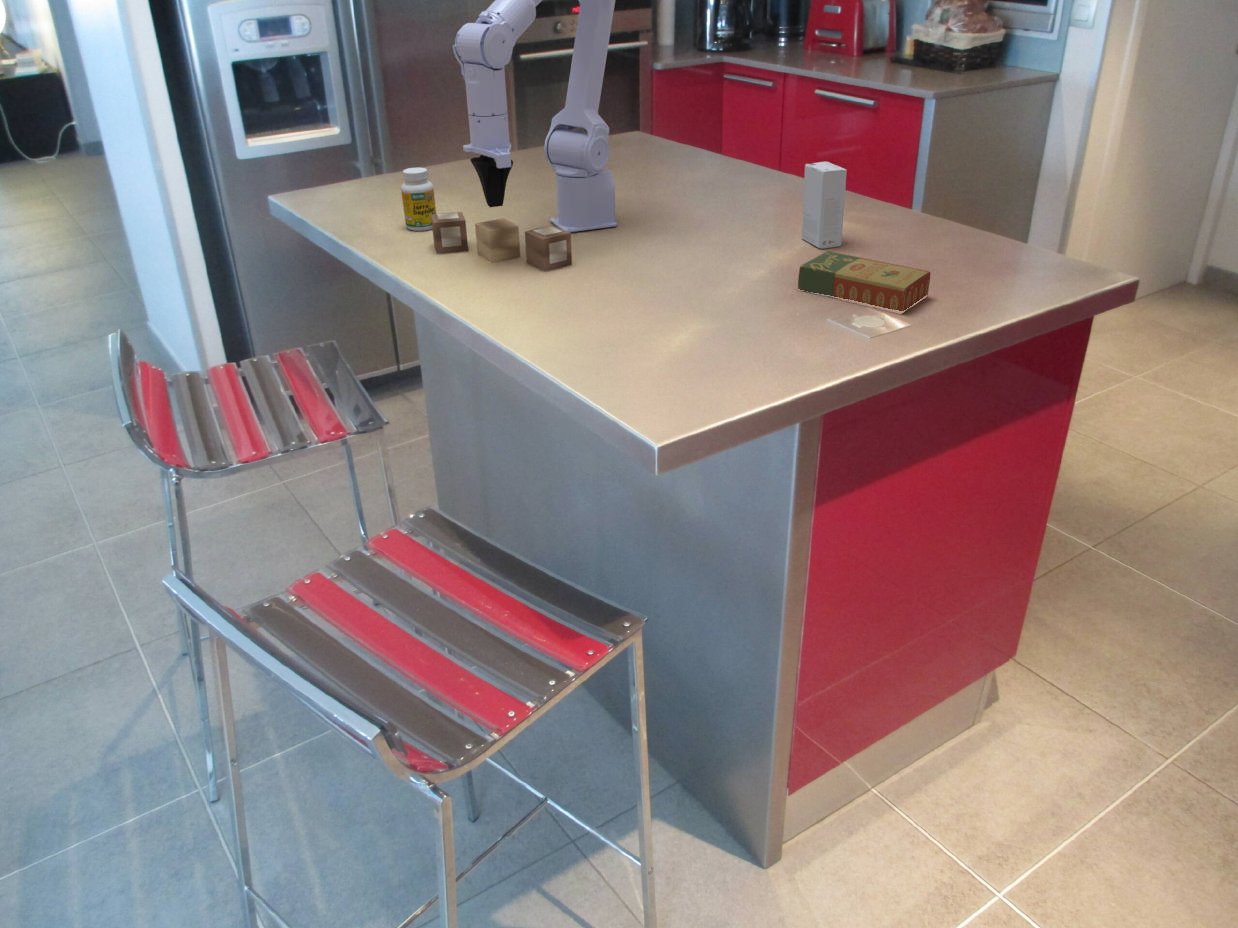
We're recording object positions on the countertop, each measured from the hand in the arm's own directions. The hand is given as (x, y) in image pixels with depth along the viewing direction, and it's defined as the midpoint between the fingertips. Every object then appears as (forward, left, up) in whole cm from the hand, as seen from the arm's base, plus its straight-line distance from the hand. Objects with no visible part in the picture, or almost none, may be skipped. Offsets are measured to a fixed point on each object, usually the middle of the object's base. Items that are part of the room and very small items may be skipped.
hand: (495, 205), depth 151 cm
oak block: (0, 0, -8) cm, 8 cm away
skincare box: (-49, +15, -8) cm, 52 cm away
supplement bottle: (+8, -20, -8) cm, 23 cm away
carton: (-42, +37, -8) cm, 57 cm away
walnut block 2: (-6, +7, -8) cm, 12 cm away
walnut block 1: (+6, -7, -8) cm, 12 cm away
